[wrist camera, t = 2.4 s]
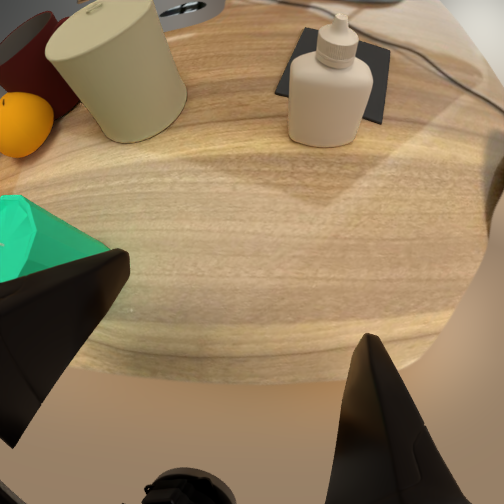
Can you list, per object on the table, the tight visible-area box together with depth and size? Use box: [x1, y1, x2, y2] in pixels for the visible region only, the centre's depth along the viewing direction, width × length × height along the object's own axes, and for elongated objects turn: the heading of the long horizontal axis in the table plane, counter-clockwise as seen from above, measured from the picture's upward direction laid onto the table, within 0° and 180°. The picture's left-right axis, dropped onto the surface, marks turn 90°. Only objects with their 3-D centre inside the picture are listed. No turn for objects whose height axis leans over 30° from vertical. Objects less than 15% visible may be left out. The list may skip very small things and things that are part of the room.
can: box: [45, 0, 187, 143], centre depth 21 cm, size 9×9×12 cm
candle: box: [0, 195, 110, 283], centre depth 17 cm, size 6×6×12 cm
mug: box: [0, 11, 80, 120], centre depth 23 cm, size 12×9×11 cm
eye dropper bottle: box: [288, 14, 373, 147], centre depth 19 cm, size 4×6×12 cm
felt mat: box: [275, 27, 390, 124], centre depth 26 cm, size 12×10×1 cm
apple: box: [0, 92, 54, 158], centre depth 24 cm, size 8×8×8 cm
